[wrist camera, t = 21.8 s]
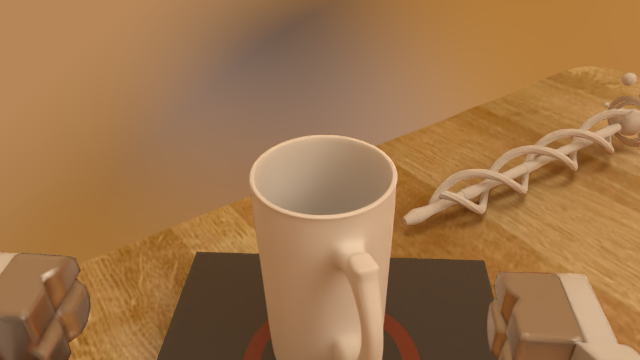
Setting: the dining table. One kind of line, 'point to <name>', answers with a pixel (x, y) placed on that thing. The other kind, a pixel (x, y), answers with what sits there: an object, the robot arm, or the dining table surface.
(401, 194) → the dining table surface
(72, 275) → the robot arm
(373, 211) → the mug
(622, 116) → the sculpture
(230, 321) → the hob
